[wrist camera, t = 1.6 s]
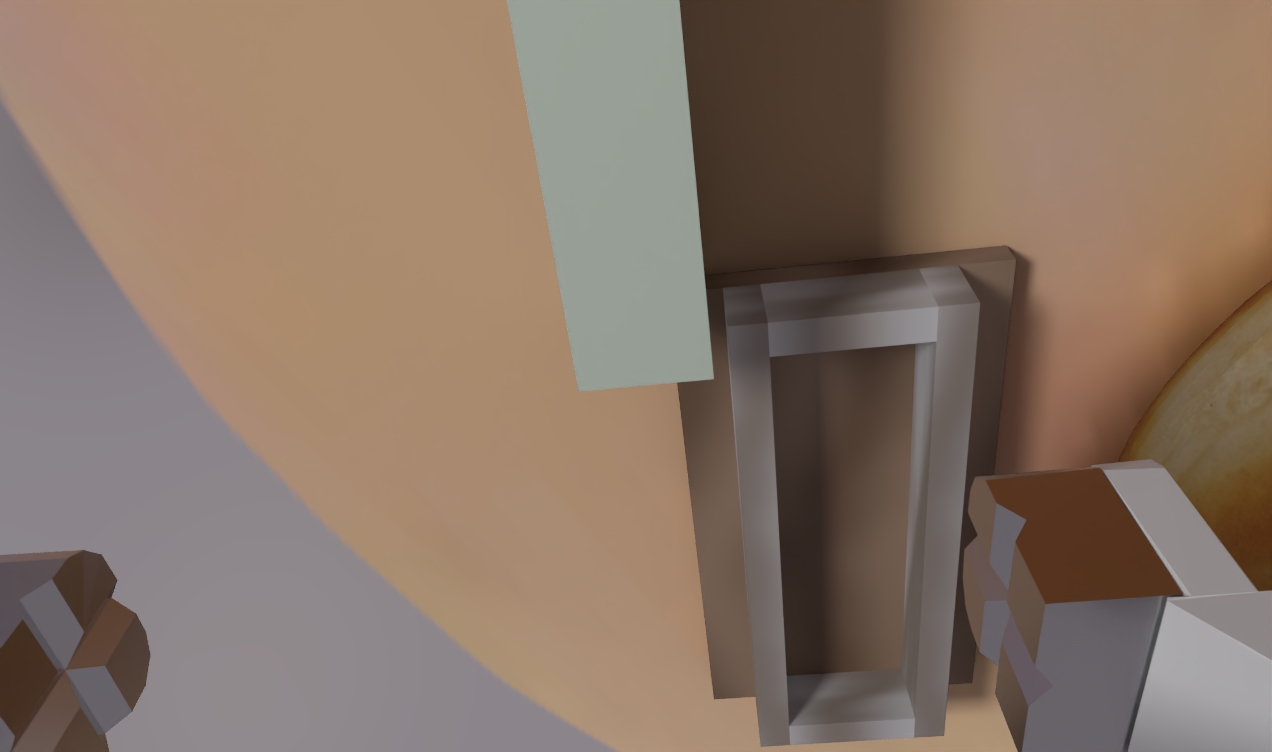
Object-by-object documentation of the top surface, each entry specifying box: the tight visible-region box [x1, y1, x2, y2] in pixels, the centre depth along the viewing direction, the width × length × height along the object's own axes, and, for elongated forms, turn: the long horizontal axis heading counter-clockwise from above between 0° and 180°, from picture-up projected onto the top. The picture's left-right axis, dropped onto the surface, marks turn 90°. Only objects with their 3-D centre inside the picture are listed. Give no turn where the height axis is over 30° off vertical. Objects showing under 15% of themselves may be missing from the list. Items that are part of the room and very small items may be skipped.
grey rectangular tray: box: [677, 246, 1016, 747], centre depth 35 cm, size 11×20×4 cm, turn 7°
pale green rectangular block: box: [507, 0, 714, 391], centre depth 24 cm, size 4×14×8 cm, turn 7°
